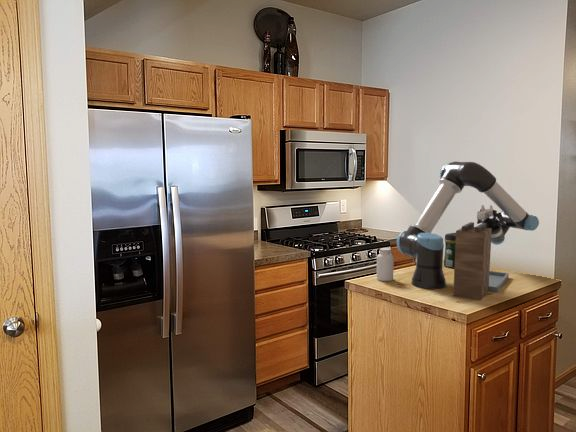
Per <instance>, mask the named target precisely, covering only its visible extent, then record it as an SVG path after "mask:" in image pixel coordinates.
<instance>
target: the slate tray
mask: <svg viewBox="0 0 576 432" xmlns="http://www.w3.org/2000/svg"><path fill="white" fill-rule="evenodd" d="M508 279H509V273H508V272H501V271H492V270H490V271H489V290H488V292H492V293H499V292H500V290H501V288H502V287H503V285H504V284H505V283H506V281H507V280H508Z"/></svg>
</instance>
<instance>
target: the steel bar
mask: <svg viewBox="0 0 576 432" xmlns="http://www.w3.org/2000/svg"><path fill="white" fill-rule="evenodd" d="M489 210H490V208H485V210H482V211H480V210H479V212H478V211H477V212H476V213H477V214H476V220H478V219H479V220H482V221H483V220H485V219H487V218H490V217H492V216H491V214H490V211H489Z"/></svg>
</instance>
